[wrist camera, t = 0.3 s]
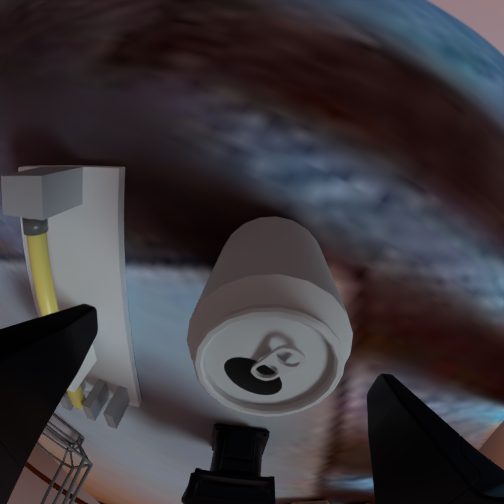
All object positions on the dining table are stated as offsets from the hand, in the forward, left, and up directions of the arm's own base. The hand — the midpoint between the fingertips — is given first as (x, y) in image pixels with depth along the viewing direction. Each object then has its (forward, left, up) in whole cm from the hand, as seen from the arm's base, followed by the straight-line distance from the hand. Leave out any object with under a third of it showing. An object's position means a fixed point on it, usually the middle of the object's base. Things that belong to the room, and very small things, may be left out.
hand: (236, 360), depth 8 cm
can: (-3, -1, -14) cm, 15 cm away
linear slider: (-10, +17, -14) cm, 24 cm away
